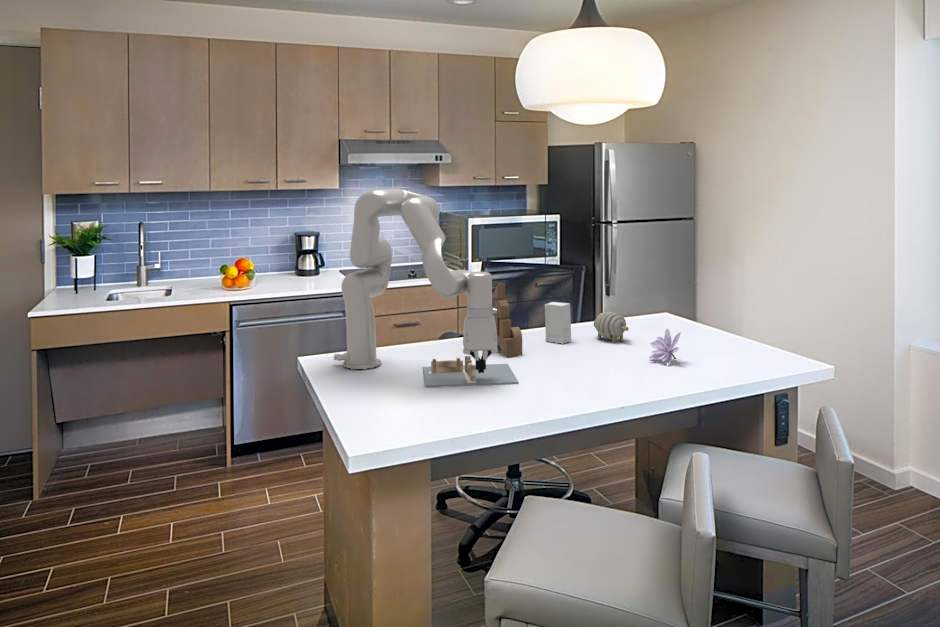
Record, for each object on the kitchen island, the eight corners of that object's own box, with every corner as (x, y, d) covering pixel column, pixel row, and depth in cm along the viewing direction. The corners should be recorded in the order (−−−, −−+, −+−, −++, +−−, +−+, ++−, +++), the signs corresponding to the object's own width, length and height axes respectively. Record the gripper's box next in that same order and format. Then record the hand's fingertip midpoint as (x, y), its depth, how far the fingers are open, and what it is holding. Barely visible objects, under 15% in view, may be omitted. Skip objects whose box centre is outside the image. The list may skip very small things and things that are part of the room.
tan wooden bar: (466, 372, 227) (466, 359, 226) (470, 371, 227) (470, 359, 226) (471, 380, 217) (471, 367, 217) (475, 380, 217) (475, 367, 217)
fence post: (465, 374, 228) (465, 357, 227) (464, 372, 230) (464, 356, 229) (471, 374, 228) (470, 357, 227) (470, 372, 230) (470, 355, 229)
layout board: (425, 387, 214) (425, 385, 214) (423, 368, 235) (422, 366, 235) (518, 383, 216) (518, 381, 216) (507, 365, 238) (507, 363, 238)
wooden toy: (523, 355, 251) (523, 284, 246) (506, 357, 248) (506, 286, 244) (504, 346, 265) (503, 279, 260) (487, 348, 262) (487, 280, 258)
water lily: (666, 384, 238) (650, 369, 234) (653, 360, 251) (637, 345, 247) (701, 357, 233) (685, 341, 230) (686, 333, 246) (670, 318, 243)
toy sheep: (602, 335, 282) (603, 307, 280) (637, 342, 269) (638, 313, 267) (584, 339, 276) (585, 310, 274) (619, 346, 263) (620, 316, 261)
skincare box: (571, 342, 271) (572, 303, 268) (562, 344, 267) (562, 305, 264) (553, 338, 277) (553, 300, 274) (544, 341, 272) (544, 302, 269)
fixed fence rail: (462, 370, 229) (462, 357, 228) (463, 371, 228) (462, 358, 227) (431, 371, 228) (431, 358, 227) (431, 372, 227) (431, 359, 226)
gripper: (502, 309, 221) (503, 367, 224) (454, 311, 219) (455, 370, 222) (506, 314, 213) (506, 374, 217) (456, 316, 212) (457, 376, 215)
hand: (480, 371), depth 219 cm, fingers closed
